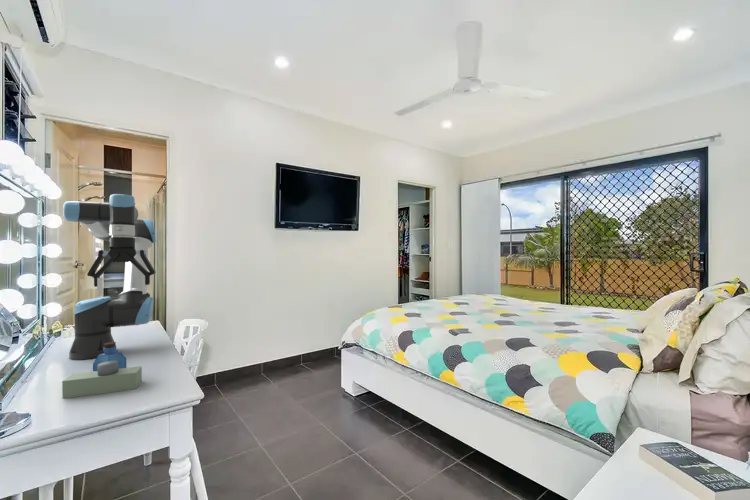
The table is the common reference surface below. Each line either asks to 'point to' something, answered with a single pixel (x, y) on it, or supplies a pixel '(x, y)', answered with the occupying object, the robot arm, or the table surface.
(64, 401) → the table surface
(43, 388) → the table surface
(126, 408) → the table surface
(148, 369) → the table surface
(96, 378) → the green slab with knob
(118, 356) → the perfume bottle
